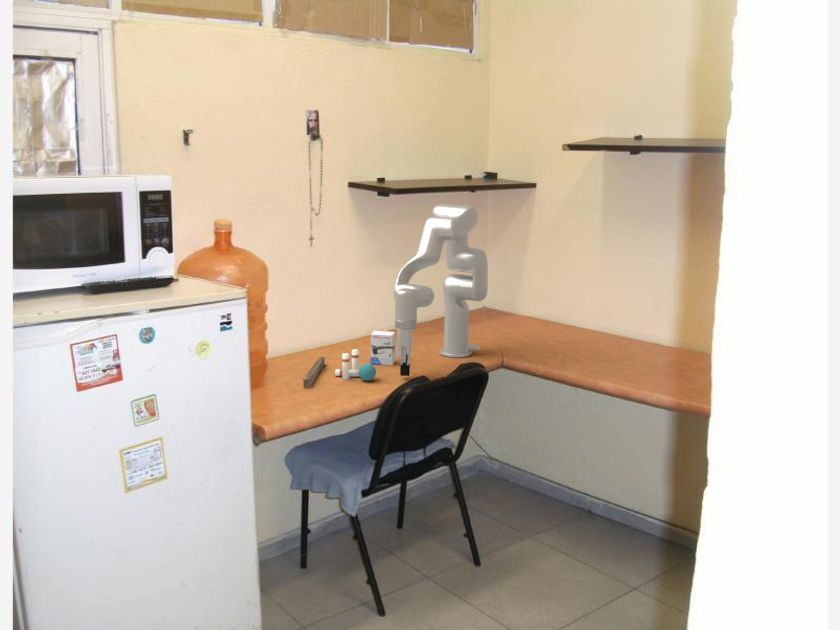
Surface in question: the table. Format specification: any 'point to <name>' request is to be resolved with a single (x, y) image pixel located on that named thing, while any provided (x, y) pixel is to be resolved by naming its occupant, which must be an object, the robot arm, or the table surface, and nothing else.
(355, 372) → the pin front
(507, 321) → the table surface
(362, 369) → the ball
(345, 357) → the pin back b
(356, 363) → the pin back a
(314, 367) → the bar
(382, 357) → the ink box
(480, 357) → the table surface
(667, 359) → the table surface
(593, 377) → the table surface
